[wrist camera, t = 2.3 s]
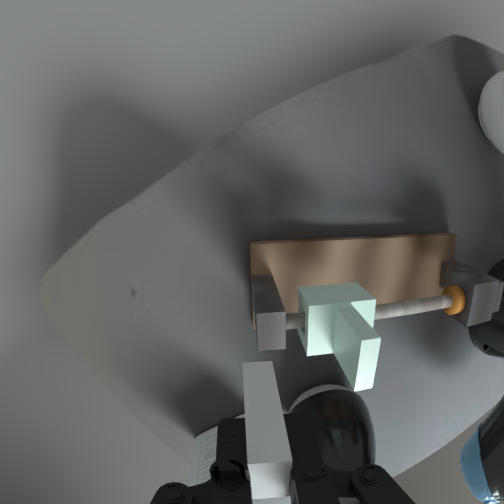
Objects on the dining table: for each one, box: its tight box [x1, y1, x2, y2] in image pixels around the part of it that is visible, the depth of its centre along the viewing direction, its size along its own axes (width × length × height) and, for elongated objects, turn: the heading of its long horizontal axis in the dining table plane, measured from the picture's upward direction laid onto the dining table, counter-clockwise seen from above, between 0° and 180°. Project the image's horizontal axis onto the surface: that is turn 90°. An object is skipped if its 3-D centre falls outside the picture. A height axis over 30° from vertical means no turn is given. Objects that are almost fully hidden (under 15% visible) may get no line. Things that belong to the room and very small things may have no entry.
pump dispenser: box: [288, 384, 376, 471], centre depth 27 cm, size 10×10×15 cm
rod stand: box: [249, 233, 504, 351], centre depth 26 cm, size 24×9×11 cm, turn 93°
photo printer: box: [188, 414, 245, 487], centre depth 29 cm, size 10×4×12 cm, turn 126°
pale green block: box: [298, 282, 381, 391], centre depth 20 cm, size 5×4×9 cm
